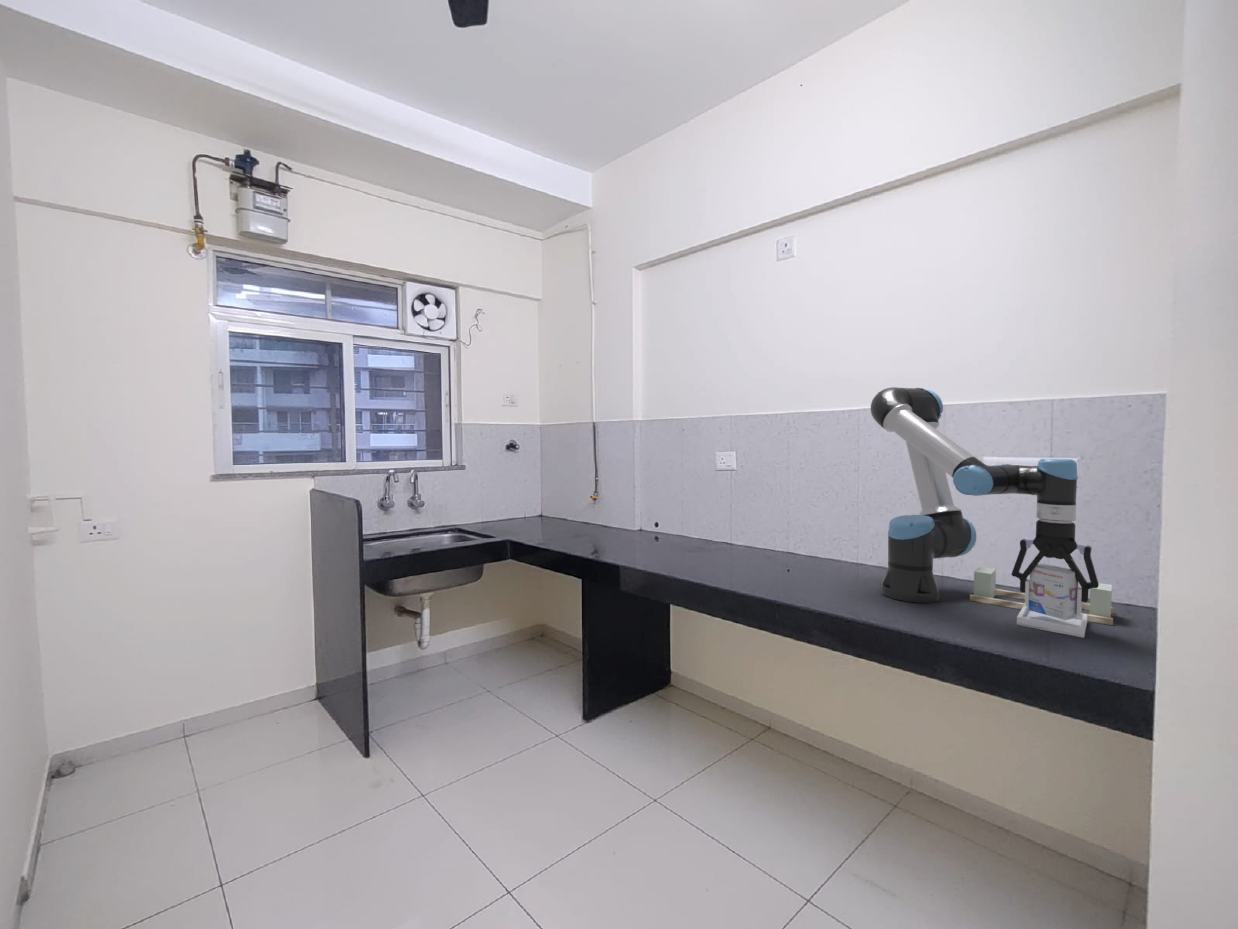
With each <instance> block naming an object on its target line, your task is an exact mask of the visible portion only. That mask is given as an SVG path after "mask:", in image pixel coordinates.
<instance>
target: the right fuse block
mask: <svg viewBox="0 0 1238 929" xmlns="http://www.w3.org/2000/svg"><path fill="white" fill-rule="evenodd" d="M1098 583H1099V586H1098V588H1091V589H1089V604H1090V605H1089V610H1088V614H1090V615H1096V616H1102V617H1108V618H1112V616H1111V615H1112V614H1111V607H1112V595H1113V594H1112V592H1113V591H1112V590H1113V585H1112V584H1109V583H1102V582H1098Z"/></svg>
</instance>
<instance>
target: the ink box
mask: <svg viewBox="0 0 1238 929" xmlns="http://www.w3.org/2000/svg"><path fill="white" fill-rule="evenodd" d="M1029 580H1030V589H1029V610H1031V611H1034V612H1038V613H1041V614H1045V615H1048V616H1052V617H1056V618H1059V619H1063V620H1069V619H1073V618H1077V590H1078V587H1079V582H1078V581H1077V579H1076V577H1075V573H1074V572H1072V571H1071V569H1070V568H1066V567H1061V566H1057V565H1053V564H1048V563H1038V564H1037V565H1036V567H1035V568H1034V569H1033V571H1032V572H1031V573H1030V574H1029Z"/></svg>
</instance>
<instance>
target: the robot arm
mask: <svg viewBox="0 0 1238 929" xmlns="http://www.w3.org/2000/svg"><path fill="white" fill-rule="evenodd" d="M943 412H944V404H943V401H942V399H941V397H940V396H939V395H938V394H937V393H936V392H935V391H933V390H931V389H927V388H922V387H893V386H892V387H887V388H884V389H882V390H881V391H878V392H877V394H875V395H874V397H873V399H872V401H871V404H870V414H871V416H872V419H873V420H874V421H875V422H876V423H877V424H878V425H879V426H880V427H882V428H883V429H884V430H885V431H886V432H889V433H891V432H894V433H895V434H896V435H897V436H898V437H900V438H901V439H903V440H904V442H905V445H906V447H907V451H908V452H907V453H908V455H909V460H910V465H911V468H912V472H913V476H914V481H915V485H916V486H915V487H916V489H917V490H916V491H917V495H918V498H919V503H920V507H921V511H920V513H919V514H910V515H909V514H907V515H898V516H896V517H894V518H892V519H890V521H889V524H888V531H887V535H888V538H887V539H888V541H887V544H888V545H887V547H888V548H887V559H888V560H887V569H886V572H885V574H884V576H883V579H882V581H881V584H880V593H881V594H882V595H883V596H884V597H888V598H891V599H894V600H898V601H904V602H911V603H934V602H937V601H939V600H940V588H939V587H938V583H937V581H936V578H935V575H934V568H933V567H934V559H935V560H936V559H945V558H956V557H959V556H960V557H961V556H963V555H964V556H965V555H966V554H968V553H969V552H971V551H972V550H973V548H974V546H975V545H976V542H977V530H976V528H975V525H974V524H973V523H972V522H970V520H968V519H966V518H964V516H963V513H962V509H961V508H959V507H957V506H955V504H954V500H953V497H952V492H951V489H950V488H951V487H950V484H949V481H948V477H947V475H949V476H950V477H951V478H952V483H953V485H954V487H955V490H957V491H958V493H961V495H962V494H963V495H965V496H975V497H977V496H978V497H979V496H980V497H981V496H988V495H989V496H990V495H1008V494H1009V495H1010V494H1014V495H1015V494H1016V495H1017V494H1018V495H1019V494H1020V495H1031V496H1036V518H1037V521H1036V522H1035V538H1034V539H1025V538H1023V539H1021V540H1020V541H1019V545H1020V546H1019V548H1020V550H1019V552H1018V555H1017V557H1016V561H1015V563H1014V566H1013V568H1012V572H1011V576H1012V577H1013V578H1014V577H1015V578H1017V579H1019V591H1020V593H1025V600H1024V603H1025V606H1026V607H1029V589H1030V578H1029V579H1028V577H1030V573H1031V572H1032V571H1033V569H1034V568H1035V567H1036V565H1037V564H1040V561H1041V560H1042V559H1043V558H1044V557H1045V558H1048V559H1057V560H1064V562H1065V563H1066V564H1067V566H1068V567H1069V569H1071V571H1072V572H1074V573H1075V577H1076V579H1077V581H1078V585H1080V586H1078V590H1077V615H1078V616H1081V613H1082V610H1083V609H1082V603H1088V601H1089V591H1090V589H1091V588H1098V586H1099V583H1100V582H1099V580H1098V577H1097V573H1096V570H1095V566H1094V562H1093V560H1092V556H1091V555H1092V554H1091V553H1092V546H1091V545H1083V544H1082V545H1081V544H1078V543H1077V542H1076V524H1075V523H1074V521H1076V520H1077V519H1076V518H1077V488H1078V480H1079V476H1078V464H1077V462H1076V461H1075V459H1071V458H1069V459H1068V458H1040V459H1039V460H1038V463H1037V465H1020V464H1017V465H1016V464H1008V463H1007V464H995V465H987V464H985V463H984V462H983V461H981V460H980V459H978V458H977V457H976V456H974V455H972V453H970V452H969V451H967V450H966V449H964V448H963V447H961V446H960V445H959V444H957V443H956V442H955V441H954V440H952V439H950V438H949V437H947V436H946V435H945V434H943V433H942V432H940V430H938V429H937V428H938V427H939V426H940V422H939V420H940V418H941V417H942V413H943ZM1032 545H1034V546H1035V548H1036V549H1037V551H1038V553H1037V554H1036V556H1035V557H1034V558H1033V559H1032V561H1031V562H1030V563H1029V565H1028V566H1027V567H1026V569H1025V570H1024V572H1023V573H1022V572H1020V570H1021V567H1022V565H1023V562H1024V560H1025V557H1026V554H1027V552H1028V549H1030V548H1031V547H1032ZM1075 550H1078V551H1079V554H1081V555H1083V561H1084V564H1085V567H1086V571H1087V574H1088V577H1089V578H1088V579H1089V582H1088V581H1087V580H1086V578H1085V577H1084V575H1083V573H1082V571H1081V569H1080V568H1079V567H1078V565H1077V564H1076V561H1075V560H1074V558H1073V557H1072V555H1071V554H1072V553H1074V551H1075Z"/></svg>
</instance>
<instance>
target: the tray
mask: <svg viewBox="0 0 1238 929" xmlns="http://www.w3.org/2000/svg"><path fill="white" fill-rule="evenodd" d="M1082 613H1083V612H1081V616H1078V615H1077V618H1073V619H1069V620H1063V619H1059V618H1056V617H1052V616H1048V615H1045V614H1041V613H1038V612H1034V611H1031V610H1029V607H1026V606H1025V604H1024V606H1023V608H1022V609H1020V611H1019V613H1017V614H1018V615H1017V616H1016V626H1019V627H1020V626H1021V627H1025V628H1032V629H1036V630H1040V631H1041V630H1042V631H1047V632H1051V633H1057V634H1062V635H1067V636H1073V637H1078V638H1083V639H1084V638H1085V636H1086V630H1087V624H1088V621H1087V615H1088V614H1089V613H1084V614H1082Z"/></svg>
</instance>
